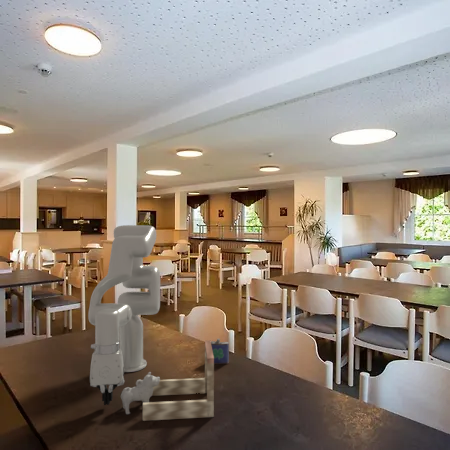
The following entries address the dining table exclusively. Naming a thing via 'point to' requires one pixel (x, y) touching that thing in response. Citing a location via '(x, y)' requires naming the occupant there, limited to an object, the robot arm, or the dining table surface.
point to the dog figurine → (139, 391)
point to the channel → (184, 387)
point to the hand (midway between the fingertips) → (107, 402)
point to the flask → (220, 352)
